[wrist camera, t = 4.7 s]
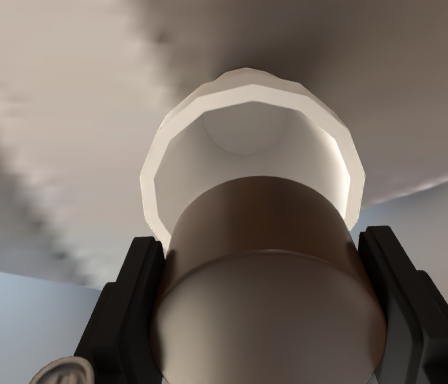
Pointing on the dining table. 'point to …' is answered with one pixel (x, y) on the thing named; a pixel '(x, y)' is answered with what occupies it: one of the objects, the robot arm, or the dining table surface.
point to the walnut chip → (265, 291)
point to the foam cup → (248, 146)
